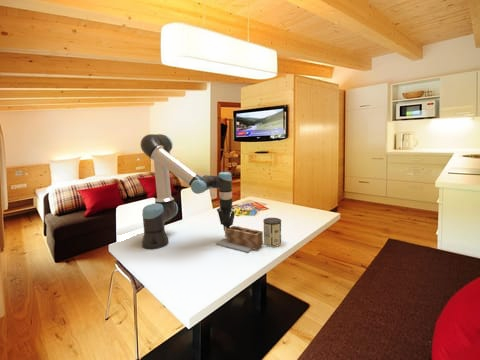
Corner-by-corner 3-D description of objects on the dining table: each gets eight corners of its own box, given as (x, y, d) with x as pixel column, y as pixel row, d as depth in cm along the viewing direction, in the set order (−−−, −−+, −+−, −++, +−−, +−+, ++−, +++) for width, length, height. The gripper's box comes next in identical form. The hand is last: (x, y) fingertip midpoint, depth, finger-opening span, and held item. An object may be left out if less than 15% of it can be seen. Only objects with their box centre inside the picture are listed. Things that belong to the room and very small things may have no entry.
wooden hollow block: (262, 244, 153) (262, 231, 152) (256, 249, 147) (256, 235, 146) (234, 238, 164) (233, 225, 163) (227, 242, 158) (226, 229, 157)
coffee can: (270, 238, 165) (270, 216, 162) (284, 242, 158) (284, 219, 155) (260, 243, 157) (259, 220, 155) (274, 248, 150) (274, 224, 148)
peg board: (216, 244, 157) (215, 234, 156) (232, 236, 170) (231, 226, 169) (247, 253, 145) (247, 241, 144) (262, 243, 158) (262, 232, 157)
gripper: (213, 198, 159) (214, 236, 163) (230, 200, 152) (232, 240, 156) (221, 195, 165) (222, 232, 169) (238, 198, 158) (239, 236, 162)
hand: (227, 236), depth 162 cm, fingers closed
